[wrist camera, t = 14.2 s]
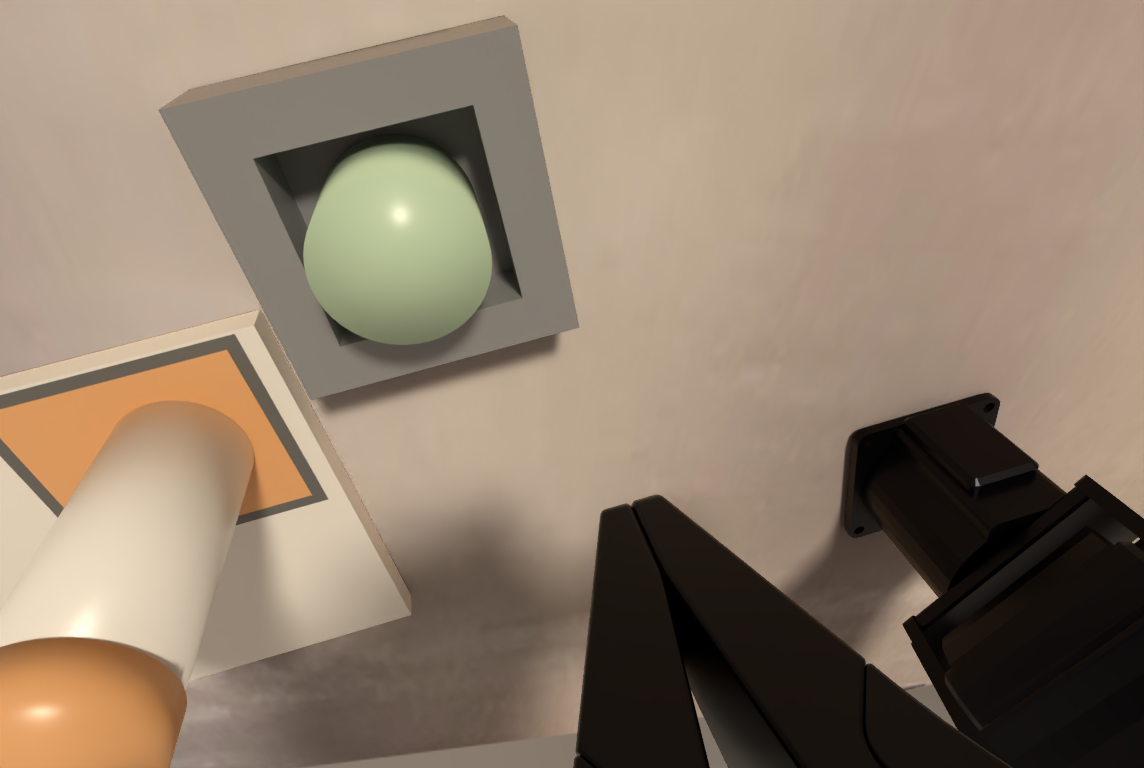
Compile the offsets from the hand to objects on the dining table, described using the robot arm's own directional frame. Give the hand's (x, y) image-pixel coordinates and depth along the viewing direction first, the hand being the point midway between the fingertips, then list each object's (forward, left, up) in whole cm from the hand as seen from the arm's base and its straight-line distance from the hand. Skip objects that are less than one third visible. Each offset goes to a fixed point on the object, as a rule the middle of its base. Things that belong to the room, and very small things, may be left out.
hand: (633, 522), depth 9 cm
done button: (+1, +3, -12) cm, 12 cm away
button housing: (+1, +3, -13) cm, 13 cm away
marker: (-4, +12, -12) cm, 17 cm away
